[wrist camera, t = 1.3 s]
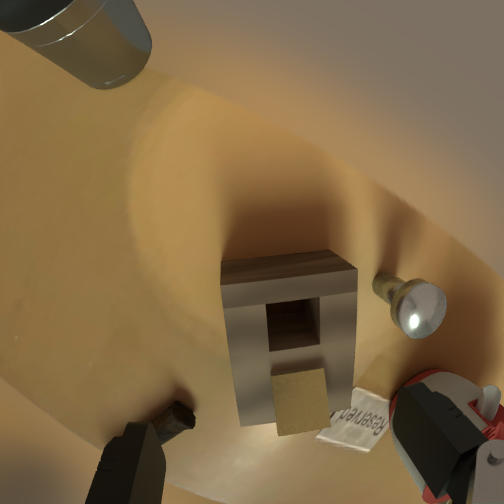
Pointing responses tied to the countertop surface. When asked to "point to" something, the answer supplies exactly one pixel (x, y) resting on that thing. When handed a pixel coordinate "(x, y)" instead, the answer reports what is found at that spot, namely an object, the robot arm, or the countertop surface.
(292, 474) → the countertop surface
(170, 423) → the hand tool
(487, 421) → the citrus juicer
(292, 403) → the plate
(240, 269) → the block
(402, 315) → the reflector light bulb
